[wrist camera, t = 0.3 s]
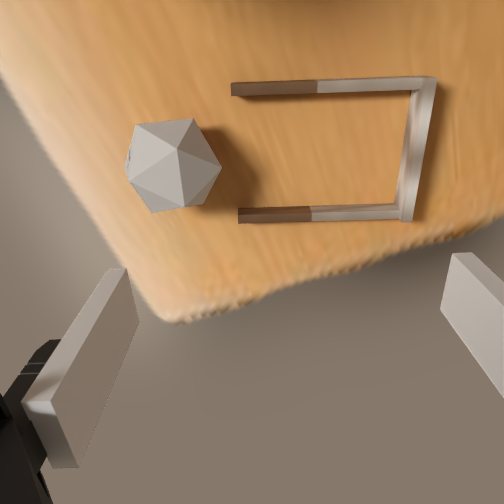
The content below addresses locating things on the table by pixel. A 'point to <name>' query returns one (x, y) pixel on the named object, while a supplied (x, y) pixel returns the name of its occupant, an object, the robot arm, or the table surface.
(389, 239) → the table surface
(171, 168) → the die
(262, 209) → the grey brown u-shaped frame
